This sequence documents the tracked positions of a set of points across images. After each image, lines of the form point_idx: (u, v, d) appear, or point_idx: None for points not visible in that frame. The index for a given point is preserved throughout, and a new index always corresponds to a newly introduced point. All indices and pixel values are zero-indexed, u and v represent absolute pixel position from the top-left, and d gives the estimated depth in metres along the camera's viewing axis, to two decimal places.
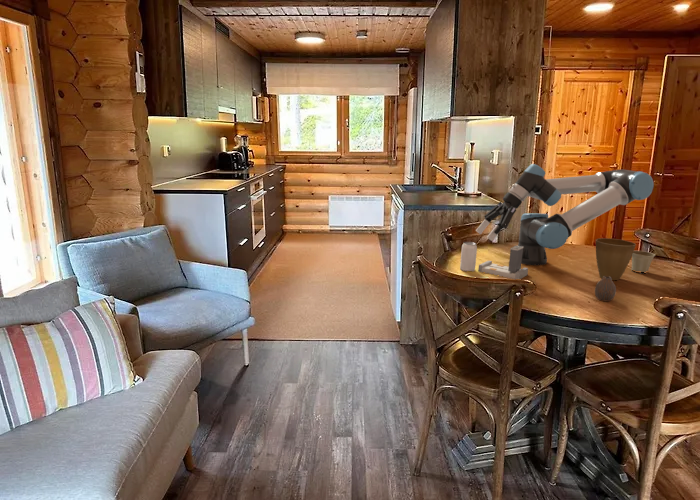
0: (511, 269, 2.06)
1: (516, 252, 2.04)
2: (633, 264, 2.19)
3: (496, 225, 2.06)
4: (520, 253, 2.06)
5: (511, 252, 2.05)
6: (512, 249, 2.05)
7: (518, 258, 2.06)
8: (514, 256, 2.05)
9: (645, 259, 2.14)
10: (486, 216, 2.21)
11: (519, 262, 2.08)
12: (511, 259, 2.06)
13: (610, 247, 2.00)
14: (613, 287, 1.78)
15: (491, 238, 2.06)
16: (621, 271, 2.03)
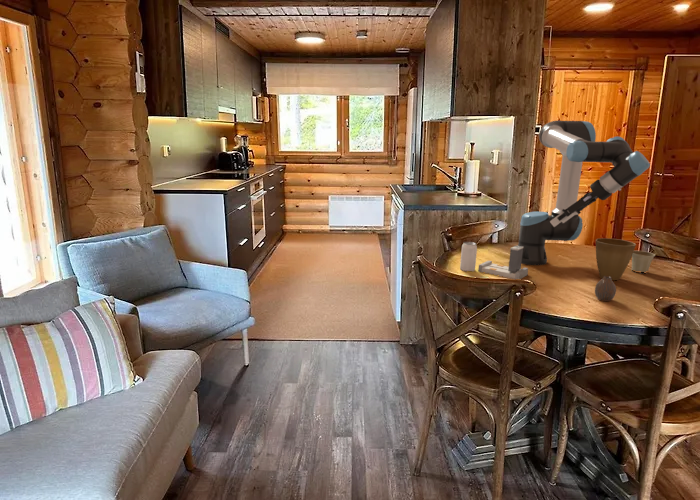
0: (511, 269, 2.06)
1: (516, 252, 2.04)
2: (633, 264, 2.19)
3: (576, 213, 1.94)
4: (520, 253, 2.06)
5: (511, 252, 2.05)
6: (512, 249, 2.05)
7: (518, 258, 2.06)
8: (514, 256, 2.05)
9: (645, 259, 2.14)
10: None
11: (519, 262, 2.08)
12: (511, 259, 2.06)
13: (610, 247, 2.00)
14: (613, 287, 1.78)
15: None
16: (621, 271, 2.03)
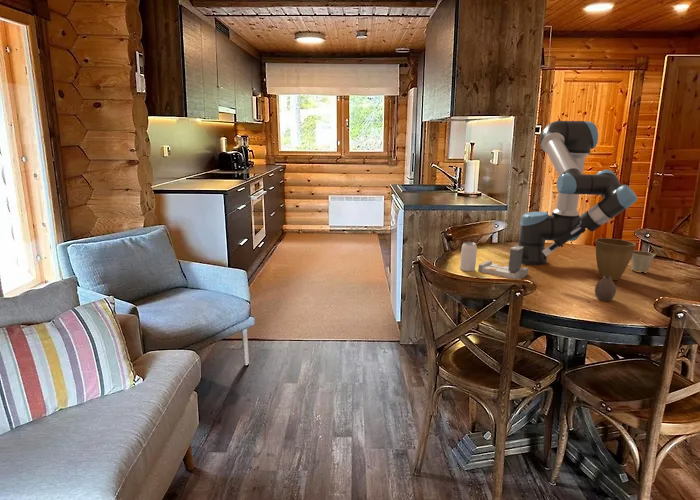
0: (511, 269, 2.06)
1: (516, 252, 2.04)
2: (633, 264, 2.19)
3: None
4: (520, 253, 2.06)
5: (511, 252, 2.05)
6: (512, 249, 2.05)
7: (518, 258, 2.06)
8: (514, 256, 2.05)
9: (645, 259, 2.14)
10: None
11: (519, 262, 2.08)
12: (511, 259, 2.06)
13: (610, 247, 2.00)
14: (613, 287, 1.78)
15: None
16: (621, 271, 2.03)
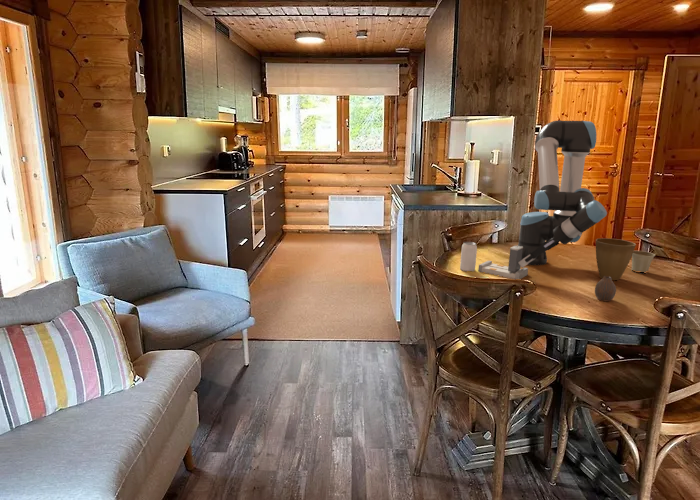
0: (511, 269, 2.07)
1: (516, 252, 2.04)
2: (633, 264, 2.19)
3: (534, 258, 2.02)
4: (519, 253, 2.06)
5: (511, 252, 2.05)
6: (512, 249, 2.05)
7: (518, 258, 2.06)
8: (514, 256, 2.05)
9: (645, 259, 2.14)
10: None
11: None
12: (511, 259, 2.06)
13: (610, 247, 2.00)
14: (613, 287, 1.78)
15: None
16: (621, 271, 2.03)
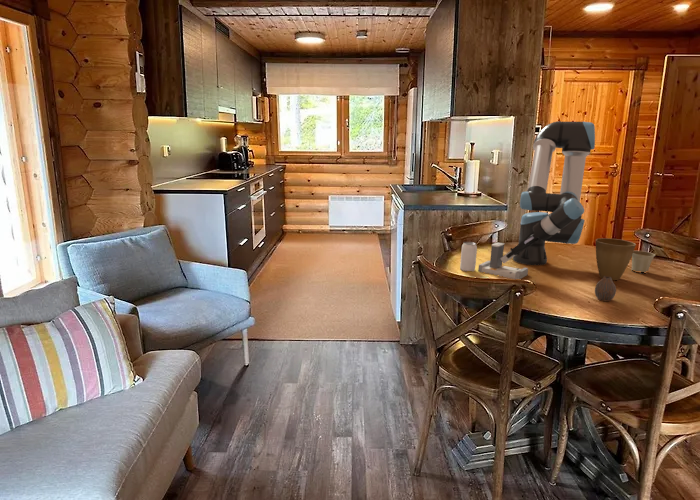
0: (492, 265, 2.12)
1: (497, 249, 2.09)
2: (633, 264, 2.19)
3: (515, 255, 2.07)
4: (501, 249, 2.11)
5: (492, 249, 2.10)
6: (493, 246, 2.10)
7: (499, 255, 2.11)
8: (495, 252, 2.10)
9: (645, 259, 2.14)
10: None
11: None
12: (492, 255, 2.11)
13: (610, 247, 2.00)
14: (613, 287, 1.78)
15: None
16: (621, 271, 2.03)
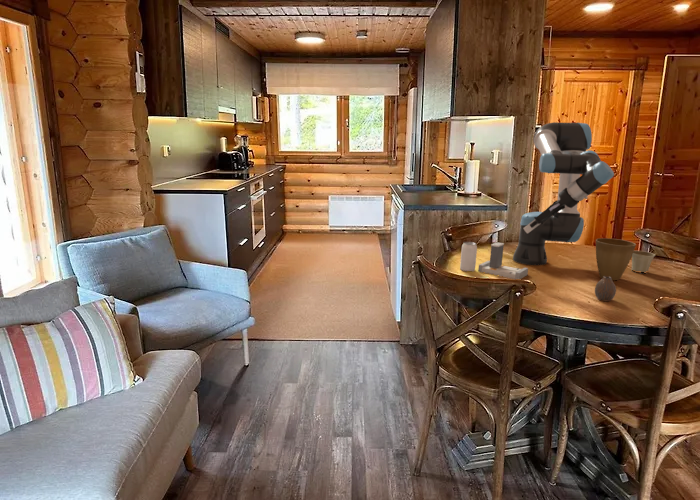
0: (492, 265, 2.12)
1: (497, 249, 2.09)
2: (633, 264, 2.19)
3: (539, 224, 1.99)
4: (500, 249, 2.11)
5: (492, 249, 2.10)
6: (493, 246, 2.10)
7: (499, 255, 2.11)
8: (495, 252, 2.10)
9: (645, 259, 2.14)
10: None
11: (500, 258, 2.13)
12: (492, 255, 2.11)
13: (610, 247, 2.00)
14: (613, 287, 1.78)
15: None
16: (621, 271, 2.03)
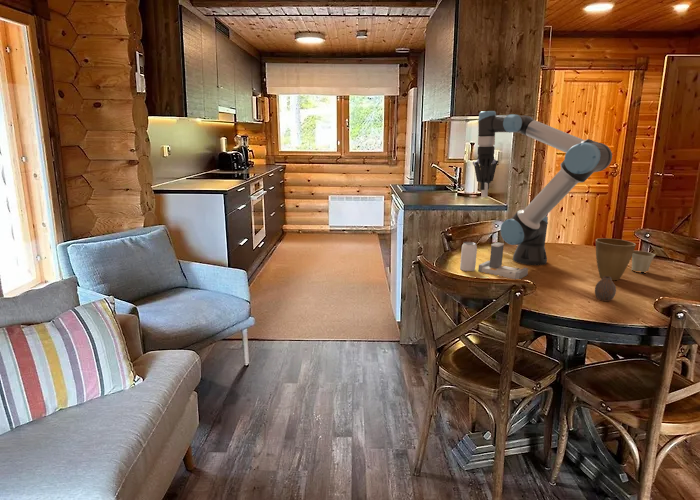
0: (492, 265, 2.12)
1: (497, 249, 2.09)
2: (633, 264, 2.19)
3: None
4: (500, 249, 2.11)
5: (492, 249, 2.10)
6: (493, 246, 2.10)
7: (499, 255, 2.11)
8: (495, 252, 2.10)
9: (645, 259, 2.14)
10: None
11: (500, 258, 2.13)
12: (492, 255, 2.11)
13: (610, 247, 2.00)
14: (613, 287, 1.78)
15: (483, 195, 2.32)
16: (621, 271, 2.03)
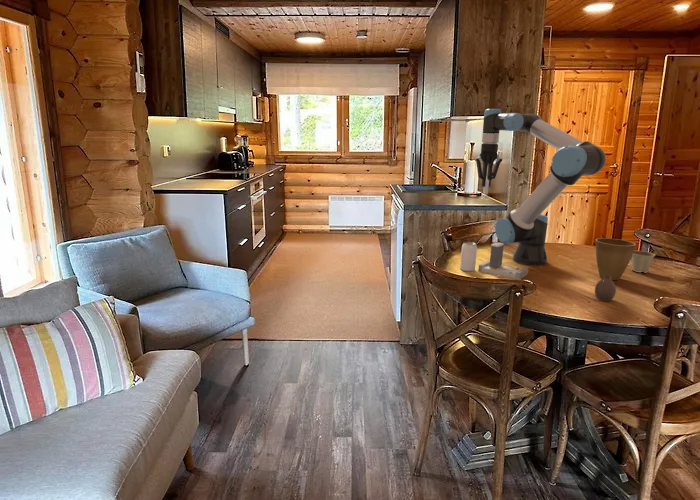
0: (492, 265, 2.12)
1: (497, 249, 2.09)
2: (633, 264, 2.19)
3: None
4: (500, 249, 2.11)
5: (492, 249, 2.10)
6: (493, 246, 2.10)
7: (499, 255, 2.11)
8: (495, 252, 2.10)
9: (645, 259, 2.14)
10: None
11: (500, 258, 2.13)
12: (492, 255, 2.11)
13: (610, 247, 2.00)
14: (613, 287, 1.78)
15: (484, 192, 2.34)
16: (621, 271, 2.03)
